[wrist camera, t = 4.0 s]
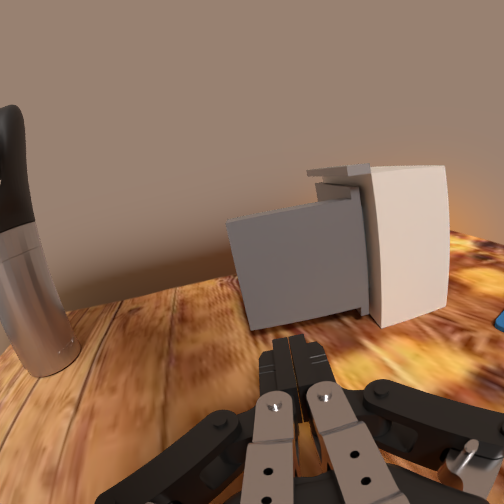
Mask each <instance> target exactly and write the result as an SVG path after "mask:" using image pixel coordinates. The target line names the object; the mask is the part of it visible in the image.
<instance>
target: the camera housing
mask: <svg viewBox="0 0 504 504" xmlns="http://www.w3.org/2000/svg"><path fill="white" fill-rule="evenodd" d="M307 176H322V177H323V183H333V184H343V185H352V186H358V187H359V193H360V201H361V208H362V216H363V225H364V234H365V245H366V257H367V272H368V294H369V313H370V315H371V316H372V317H373V319H374V320H375V321H376V322H377V324H378V325H379V326H380V328H385V327H388V326H391V325H394V324H397V323H400V322H404V321H407V320H410V319H413V318H416V317H418V316H421V315H424V314H427V313H430V312H432V311H435V310H438V309H440V308H443V307H446V300H447V290H448V277H449V255H450V229H449V228H450V225H449V204H448V191H447V180H446V172H445V166H385V167H370V164H369V163H367V164H356V165H345V166H336V167H327V168H319V169H313V170H307Z"/></svg>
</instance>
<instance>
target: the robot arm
mask: <svg viewBox="0 0 504 504" xmlns="http://www.w3.org/2000/svg"><path fill="white" fill-rule="evenodd" d="M25 142H26V140H25V127H24V119H23V116H22V113H21V110H20V109H19V108H18V107H17V106H16V105H8V106H5V107H3V108H0V180H1V184H0V321H1V324H2V326H3V328H4V330H5V332H6V334H7V336H8V339H9V341H10V343H11V345H12V346H13V348H14V350H15V352H16V354H17V356H18V358H19V360H20V361H21V363H22V365H23V367H24V368H25V369H27V370H28V372H29V373H30V375H32V376H34V377H44V376H49V375H51V374H54V373H56V372H58V371H60V370H62V369H63V368H65V367H66V366H68V365H69V364H70V363H71V362H72V361H73V360H74V359H75V358H76V357H77V356H78V354H79V352H80V348H81V347H80V344H79V342H78V340H77V338H76V335H75V333H74V331H73V329H72V327H71V325H70V322H69V320H68V318H67V315H66V313H65V311H64V308H63V306H62V303H61V301H60V298H59V296H58V293H57V291H56V288H55V285H54V283H53V280H52V277H51V274H50V271H49V268H48V265H47V262H46V258H45V255H44V252H43V248H42V245H41V241H40V238H39V234H38V230H37V226H36V222H35V217H34V213H33V208H32V203H31V196H30V191H29V184H28V176H27V164H26V143H25ZM288 338H289V344H290V349H289V344H288V339H287V337H285V338H279V339H274V340H272V343H273V350H271V351H265V352H263V353H262V354H261V356H260V358H259V381H260V398H259V399H258V400H257V403H256V405H255V406H254V407H253V408H252V409H250V410H248V411H246V412H243V413H241V414H238V415H236V414H235V413H234V412H232V411H229V410H218V411H215V412H212V413H211V414H209V415H208V416H206V417H205V418H204V419H203V420H202V421H201V422H199V423H198V424H197V425H196V426H195V427H193V428H192V429H191V430H190V431H189V432H187V433H186V434H185V435H184V436H182V437H181V438H180V439H179V440H177V441H176V442H175V443H173V444H172V445H171V446H170V447H168V448H167V449H166V450H164V451H163V452H162V453H160V454H159V455H158V456H156V457H155V458H154V459H152V460H151V461H150V462H148V463H147V464H145V465H144V466H143V467H141V468H140V469H138V470H137V471H136V472H134V473H133V474H131V475H130V476H128V477H127V478H125V479H124V480H122V481H121V482H119V483H118V484H116V485H115V486H113V487H111V488H110V489H108V490H107V491H105V492H103V493H102V494H100V495H99V496H98V497H97V499H96V501H95V504H209V503H210V502H211V501H212V500H213V499H214V498H215V497H217V496H218V495H219V494H220V493H221V492H222V491H223V490H224V489H225V488H226V487H227V486H228V485H229V484H231V483H232V482H233V481H234V480H235V479H236V478H237V477H238V476H239V475H240V474H241V473H242V472H243V471H244V478H243V486H242V491H240V492H238V493H236V494H235V495H233V496H232V497H230V498H229V499H228V500H227V501H225V502H224V503H223V504H489V502H488V501H487V500H486V499H487V496H488V494H489V492H490V490H491V488H492V486H493V483H494V481H495V479H496V476H497V474H498V472H499V469H500V466H501V464H502V461H503V458H504V413H500V412H495V411H491V410H487V409H483V408H479V407H475V406H471V405H468V404H464V403H460V402H457V401H453V400H450V399H446V398H443V397H439V396H436V395H433V394H430V393H426V392H423V391H420V390H417V389H414V388H411V387H408V386H405V385H402V384H399V383H396V382H393V381H391V380H386V379H380V380H375V381H373V382H371V383H369V384H368V385H367V386H366V387H365V389H364V390H347V389H344V388H342V387H340V385H338V384H337V383H336V381H335V378H334V375H333V373H332V370H331V367H330V365H329V362H328V360H327V357H326V355H325V351H324V349H323V346H321V345H320V344H319V343H317V342H311V343H306V341H305V338H304V334H300V335H295V336H290V337H288ZM290 350H291V354H290ZM291 356H292V359H291ZM292 362H293V364H292ZM293 367H294V369H293ZM294 373H295V374H294ZM295 378H296V379H295ZM296 383H297V384H296ZM297 388H298V390H297ZM298 393H299V396H298ZM299 398H300V403H299ZM300 404H301V409H302V414H303V419H304V422H308V421H309V424H310V429H311V436H312V440H313V443H314V446H315V449H316V453H317V456H318V459H319V462H320V466H321V469H322V474H320V475H318V476H315V477H301V473H300V451H299V426H298V423H302V416H301V409H300ZM378 448H380V449H382V450H384V451H386V452H389V453H391V454H393V455H396V456H398V457H400V458H403V459H405V460H408V461H410V462H413V463H415V464H418V465H421V466H423V467H426V468H429V469H432V470H434V471H437V472H438V473H437V476H438V479H439V481H440V482H441V483H442V484H441V483H439V482H436V481H434V480H431V479H429V478H426V477H424V476H421V475H419V474H417V473H414V472H412V471H410V470H408V469H405V468H403V467H401V466H398V465H395V464H390V463H385V461H384V459H383V457H382V455H381V453H380V451H379V449H378Z"/></svg>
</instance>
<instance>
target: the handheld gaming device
mask: <svg viewBox="0 0 504 504" xmlns="http://www.w3.org/2000/svg"><path fill="white" fill-rule="evenodd" d="M495 328H496V329H498V330H500V331H502V332H504V311H503V312H502V313H501V314H500V316H499V317H498V318H497V319H496V321H495Z"/></svg>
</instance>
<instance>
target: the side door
mask: <svg viewBox="0 0 504 504" xmlns="http://www.w3.org/2000/svg"><path fill="white" fill-rule="evenodd" d="M315 186H316V192H317V198H318V202H315V203H310V204H304V205H299V206H293V207H288V208H283V209H278V210H272V211H267V212H262V213H257V214H252V215H247V216H242V217H237V218H233V219H228V220H227V222H226V227H227V232H228V236H229V241H230V245H231V249H232V254H233V258H234V263H235V267H236V271H237V275H238V280H239V284H240V288H241V292H242V296H243V301H244V305H245V309H246V313H247V317H248V321H249V325H250V329H251V331H252V330H257V329H263V328H269V327H274V326H279V325H284V324H289V323H294V322H299V321H304V320H309V319H313V318H318V317H322V316H327V315H331V314H335V313H339V312H344V311H348V310H352V309H357V311H358V312H359V313H360V315H361V316H364V315H367V314H369V294H368V272H367V257H366V245H365V234H364V225H363V216H362V208H361V201H360V193H359V187H358V186H352V185H343V184H333V183H322V182H321V183H315Z"/></svg>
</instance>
